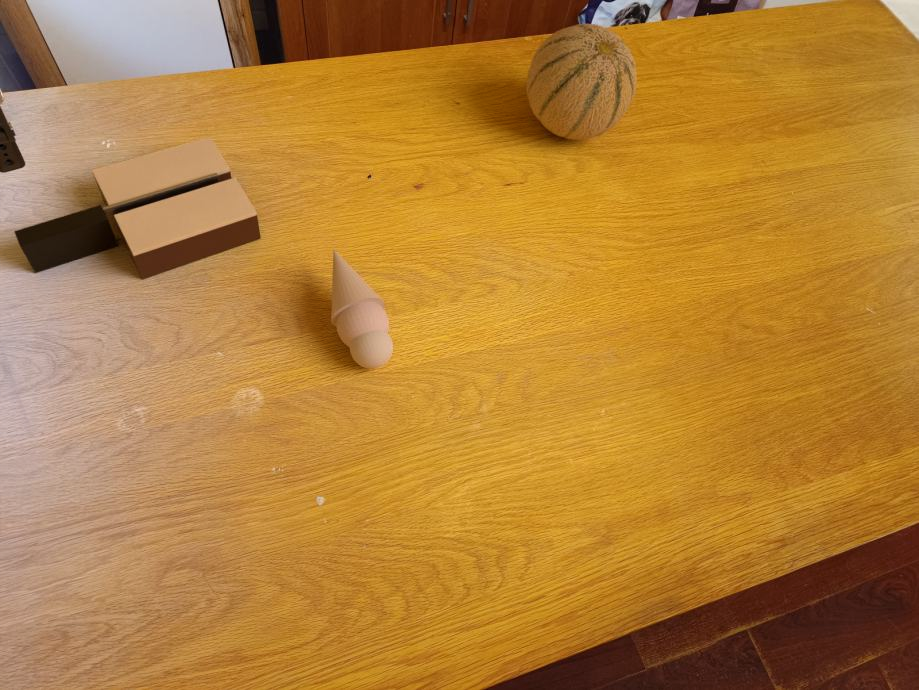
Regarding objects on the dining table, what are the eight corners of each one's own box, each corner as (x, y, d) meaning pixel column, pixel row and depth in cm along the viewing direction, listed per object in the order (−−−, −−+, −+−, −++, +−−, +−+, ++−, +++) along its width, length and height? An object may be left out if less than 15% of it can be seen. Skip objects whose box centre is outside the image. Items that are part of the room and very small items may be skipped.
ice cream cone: (338, 225, 79) (386, 347, 74) (369, 241, 84) (416, 356, 79) (295, 255, 81) (339, 376, 76) (328, 269, 86) (371, 382, 81)
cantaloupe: (533, 82, 111) (556, -14, 98) (627, 112, 109) (662, 18, 97) (504, 141, 102) (524, 45, 90) (605, 174, 101) (640, 81, 89)
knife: (35, 273, 81) (18, 243, 77) (29, 258, 82) (12, 227, 78) (227, 210, 89) (221, 179, 85) (219, 197, 91) (213, 166, 86)
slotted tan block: (142, 279, 82) (132, 253, 79) (102, 198, 88) (91, 169, 85) (261, 238, 88) (256, 212, 84) (215, 164, 94) (210, 136, 90)
